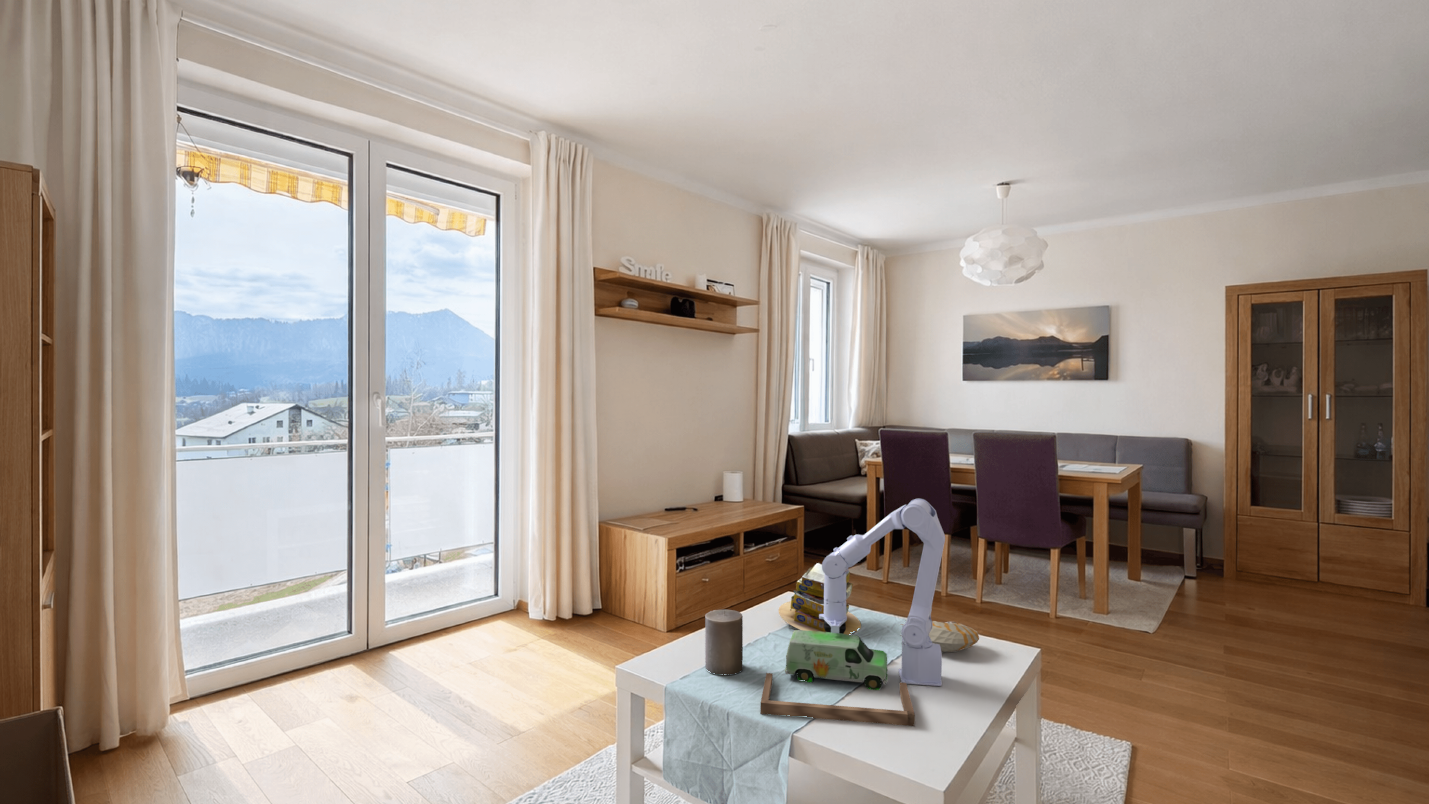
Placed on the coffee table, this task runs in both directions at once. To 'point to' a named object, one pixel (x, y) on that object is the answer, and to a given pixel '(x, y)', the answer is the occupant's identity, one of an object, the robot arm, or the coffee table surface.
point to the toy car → (835, 658)
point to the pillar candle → (724, 641)
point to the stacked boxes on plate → (813, 603)
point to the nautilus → (952, 636)
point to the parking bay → (839, 709)
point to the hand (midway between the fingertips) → (834, 651)
